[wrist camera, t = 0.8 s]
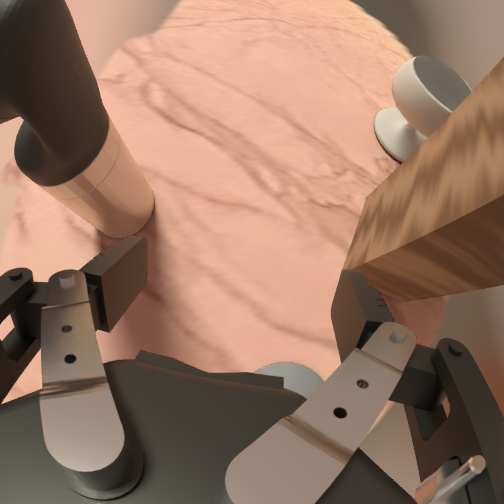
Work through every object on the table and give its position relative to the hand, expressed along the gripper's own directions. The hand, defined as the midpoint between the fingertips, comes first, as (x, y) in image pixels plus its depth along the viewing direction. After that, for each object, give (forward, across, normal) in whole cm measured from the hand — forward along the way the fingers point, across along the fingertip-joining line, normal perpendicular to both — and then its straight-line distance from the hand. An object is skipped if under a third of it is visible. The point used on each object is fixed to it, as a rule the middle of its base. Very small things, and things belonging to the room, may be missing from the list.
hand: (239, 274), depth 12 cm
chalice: (+40, -22, -10) cm, 46 cm away
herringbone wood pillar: (+27, -18, +7) cm, 33 cm away
